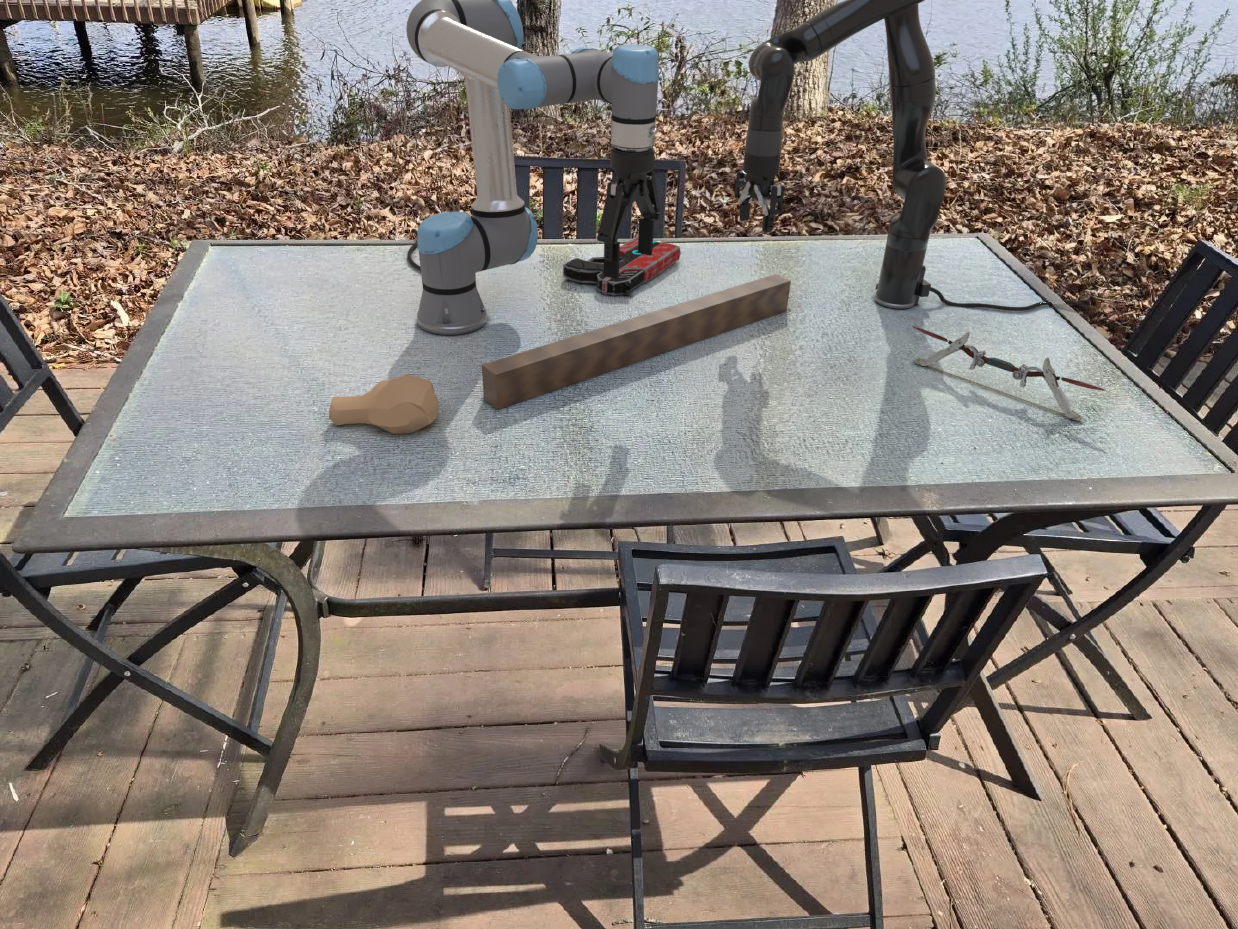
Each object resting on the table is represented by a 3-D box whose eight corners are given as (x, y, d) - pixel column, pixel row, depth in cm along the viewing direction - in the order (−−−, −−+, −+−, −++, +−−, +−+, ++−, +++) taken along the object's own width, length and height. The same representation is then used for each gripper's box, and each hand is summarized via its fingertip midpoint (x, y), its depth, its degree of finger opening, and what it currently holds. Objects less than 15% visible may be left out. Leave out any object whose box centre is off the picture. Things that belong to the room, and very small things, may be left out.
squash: (439, 440, 156) (426, 401, 150) (330, 449, 157) (313, 410, 151) (448, 401, 164) (436, 363, 157) (344, 410, 165) (328, 372, 159)
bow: (1094, 423, 166) (1111, 376, 160) (1090, 426, 165) (1108, 379, 159) (907, 357, 187) (917, 313, 182) (903, 359, 186) (913, 316, 181)
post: (497, 410, 165) (495, 374, 161) (483, 399, 168) (481, 364, 164) (786, 310, 207) (791, 280, 203) (771, 303, 210) (775, 274, 206)
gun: (556, 265, 215) (624, 284, 207) (621, 228, 237) (685, 244, 229) (556, 282, 217) (623, 301, 209) (620, 244, 239) (683, 260, 231)
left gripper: (618, 166, 139) (614, 291, 151) (682, 134, 157) (675, 248, 169) (577, 159, 142) (577, 283, 153) (645, 128, 160) (640, 241, 172)
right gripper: (798, 155, 180) (789, 233, 189) (757, 140, 190) (750, 214, 199) (768, 160, 177) (760, 238, 186) (728, 144, 187) (722, 218, 196)
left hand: (628, 265), depth 161 cm, fingers open, 13 cm apart
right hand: (755, 225), depth 192 cm, fingers open, 8 cm apart
